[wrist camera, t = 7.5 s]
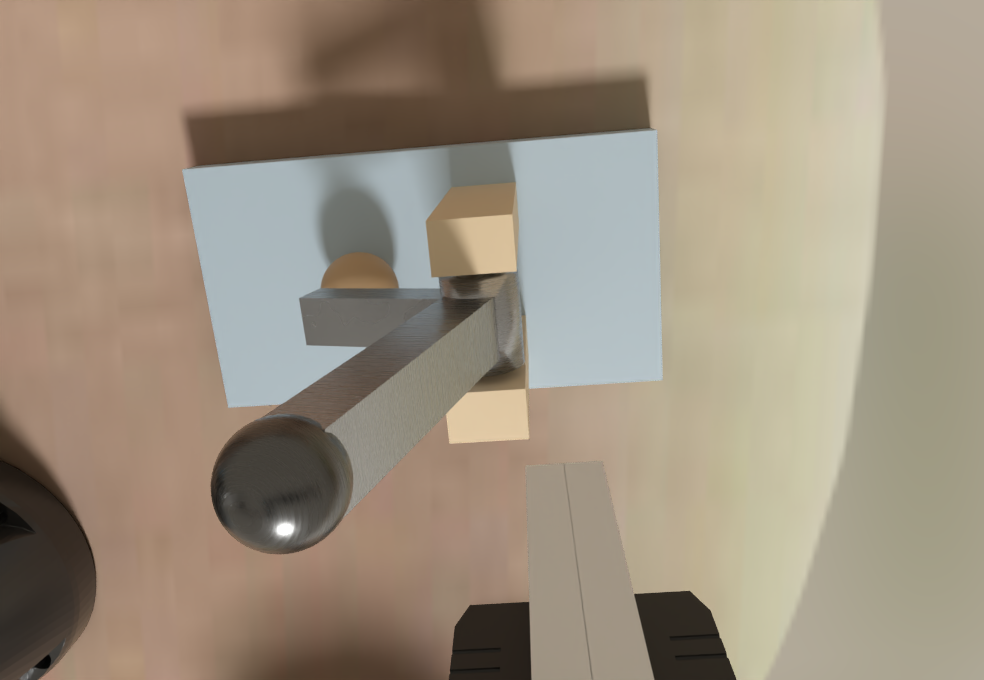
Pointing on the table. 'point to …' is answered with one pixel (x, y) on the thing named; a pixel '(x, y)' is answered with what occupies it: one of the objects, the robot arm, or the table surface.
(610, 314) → the base
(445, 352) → the lever
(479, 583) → the table surface
